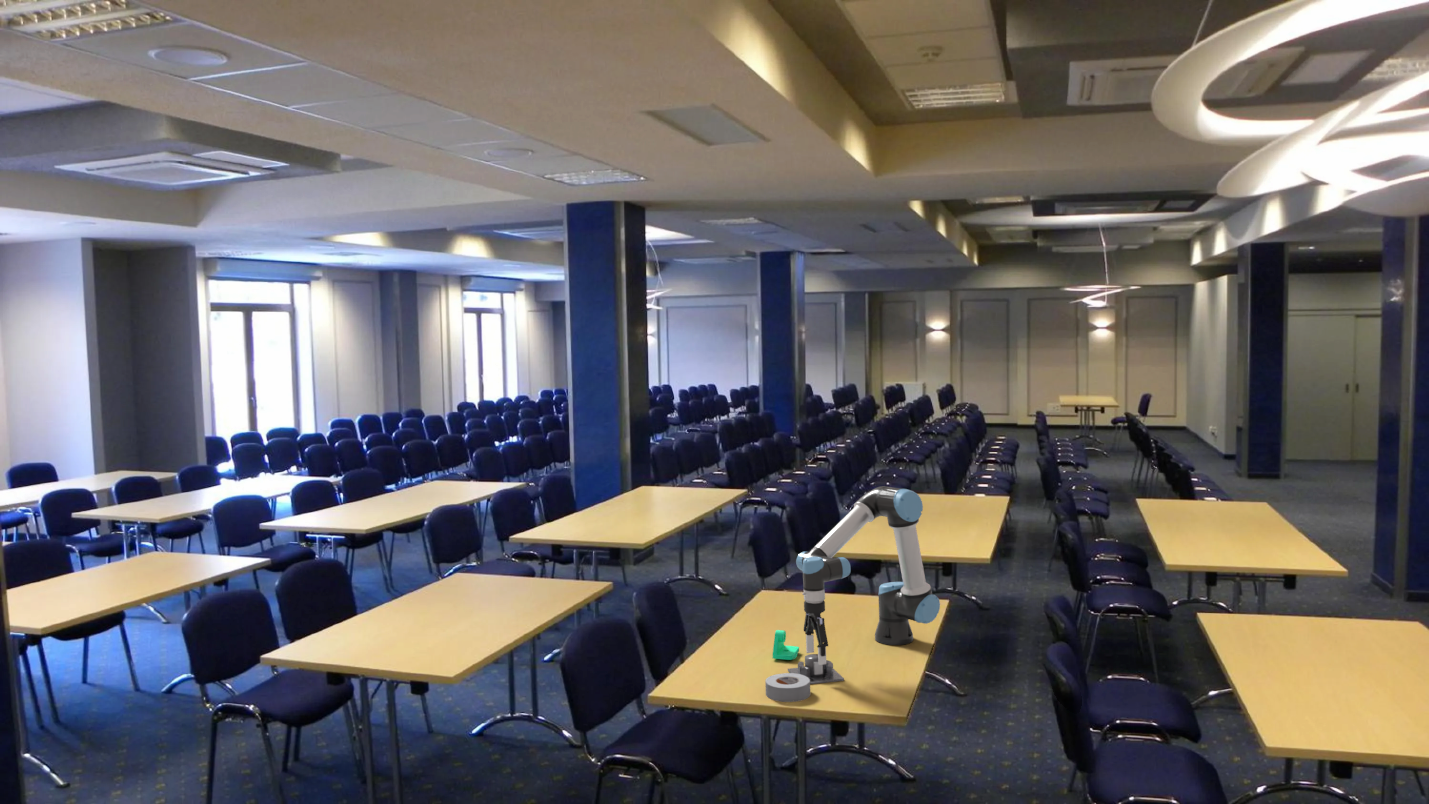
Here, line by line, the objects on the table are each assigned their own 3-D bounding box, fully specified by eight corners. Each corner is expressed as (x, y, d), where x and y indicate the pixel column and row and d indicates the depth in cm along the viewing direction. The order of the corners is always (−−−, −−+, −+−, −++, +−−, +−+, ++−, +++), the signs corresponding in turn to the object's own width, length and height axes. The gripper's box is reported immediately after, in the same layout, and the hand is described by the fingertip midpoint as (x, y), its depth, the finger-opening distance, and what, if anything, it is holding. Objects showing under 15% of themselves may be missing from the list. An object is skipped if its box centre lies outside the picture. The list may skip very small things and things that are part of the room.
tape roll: (766, 703, 336) (766, 688, 336) (764, 687, 351) (764, 673, 351) (812, 702, 336) (812, 687, 336) (808, 686, 351) (807, 672, 351)
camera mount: (792, 662, 377) (791, 636, 377) (772, 661, 380) (772, 634, 379) (799, 653, 389) (799, 627, 388) (780, 651, 391) (780, 625, 390)
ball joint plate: (829, 666, 371) (828, 655, 371) (844, 680, 356) (843, 668, 355) (787, 670, 368) (787, 659, 367) (801, 685, 352) (800, 673, 352)
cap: (820, 668, 366) (819, 652, 366) (828, 675, 358) (827, 659, 358) (802, 670, 365) (801, 654, 364) (809, 678, 357) (809, 661, 356)
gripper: (793, 592, 371) (795, 648, 373) (815, 610, 347) (817, 670, 349) (813, 590, 373) (815, 646, 374) (836, 608, 349) (837, 668, 350)
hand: (816, 658), depth 362 cm, fingers open, 13 cm apart
